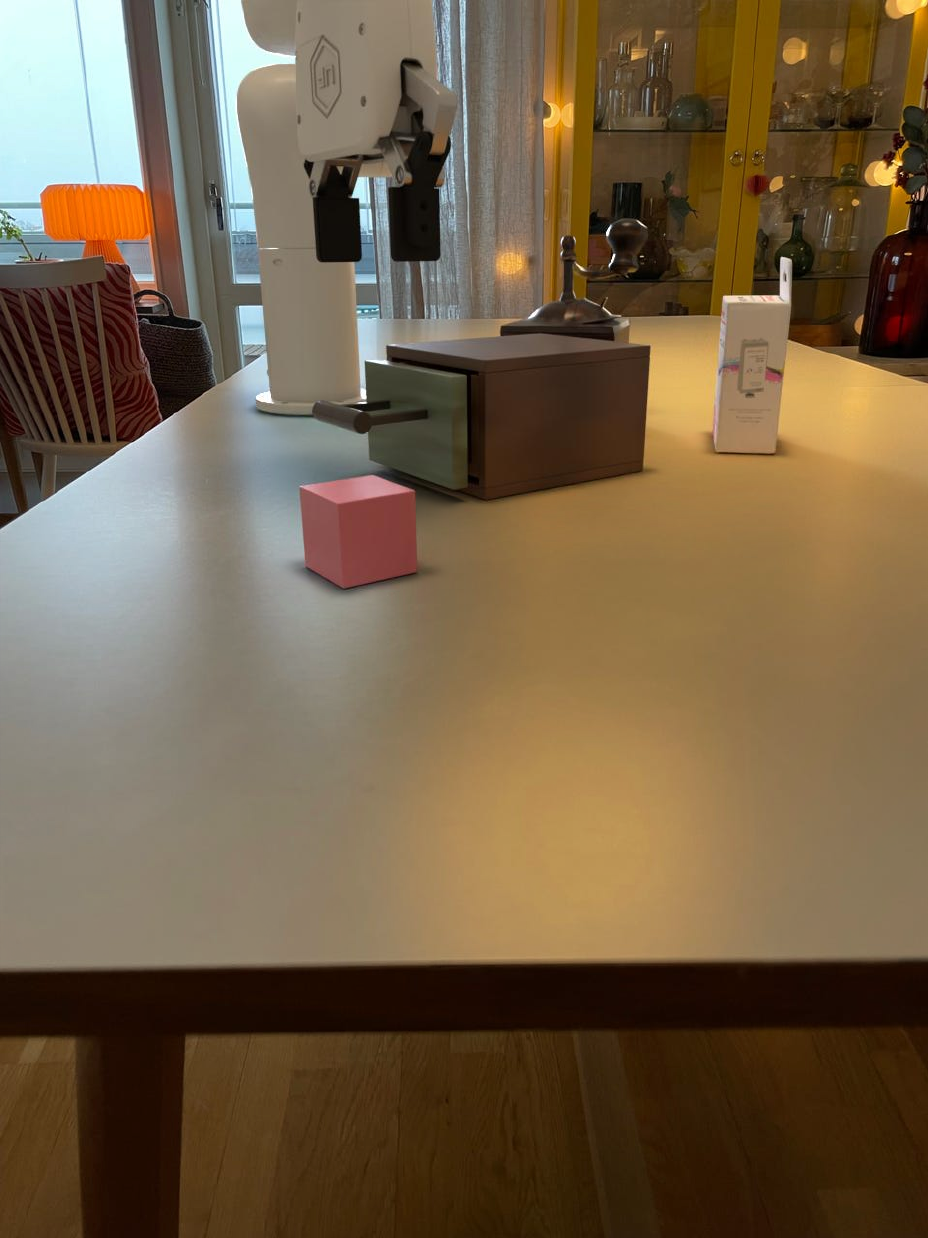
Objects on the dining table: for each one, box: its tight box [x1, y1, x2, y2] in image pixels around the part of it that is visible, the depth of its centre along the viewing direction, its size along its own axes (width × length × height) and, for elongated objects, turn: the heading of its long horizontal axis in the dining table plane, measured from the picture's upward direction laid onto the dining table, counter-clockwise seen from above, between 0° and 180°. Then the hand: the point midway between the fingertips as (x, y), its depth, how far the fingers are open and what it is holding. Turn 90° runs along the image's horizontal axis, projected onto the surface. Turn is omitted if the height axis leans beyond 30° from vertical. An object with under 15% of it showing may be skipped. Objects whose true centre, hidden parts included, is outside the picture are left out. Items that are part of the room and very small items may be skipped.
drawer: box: [312, 358, 479, 490], centre depth 67 cm, size 19×11×7 cm, turn 124°
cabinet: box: [385, 333, 651, 501], centre depth 70 cm, size 15×13×9 cm
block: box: [299, 474, 418, 590], centre depth 49 cm, size 4×4×4 cm
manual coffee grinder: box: [499, 217, 649, 343], centre depth 87 cm, size 16×11×18 cm
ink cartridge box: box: [711, 256, 793, 455], centre depth 76 cm, size 9×5×15 cm, turn 168°
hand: (375, 261), depth 60 cm, fingers open, 9 cm apart
